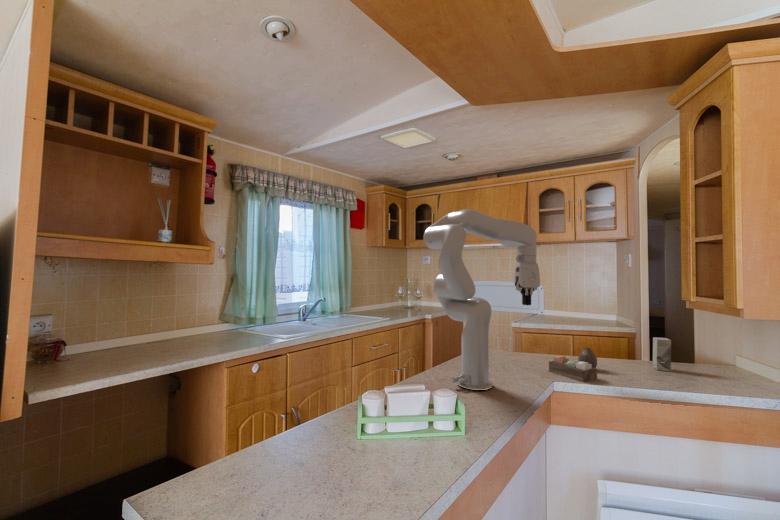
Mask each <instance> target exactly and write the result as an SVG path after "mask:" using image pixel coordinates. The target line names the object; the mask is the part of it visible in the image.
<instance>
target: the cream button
mask: <svg viewBox="0 0 780 520" xmlns="http://www.w3.org/2000/svg"><path fill="white" fill-rule="evenodd" d="M576 368H578V369H582V370H590V369H592V365H591V364H589V363H588V362H583V361H580V362H577V363H576Z"/></svg>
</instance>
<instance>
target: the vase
mask: <svg viewBox="0 0 780 520" xmlns="http://www.w3.org/2000/svg"><path fill="white" fill-rule="evenodd" d="M577 360H578V361H577V363H579V362H580V361H583V362H588V363H589V364H591V365H592V367H593V368H597V366H598V358H597V356H596V354H595V353H594V352H593V350H592V348H590V347H584V348H583V349H582V351H581V352H580V353H579V355H578V359H577Z"/></svg>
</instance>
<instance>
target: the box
mask: <svg viewBox="0 0 780 520" xmlns="http://www.w3.org/2000/svg"><path fill="white" fill-rule="evenodd" d="M661 362H665V363H661ZM652 368H654V370H656V371H663V372H671V371H672V339H669V338H667V337H656V336H655V337H652Z"/></svg>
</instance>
